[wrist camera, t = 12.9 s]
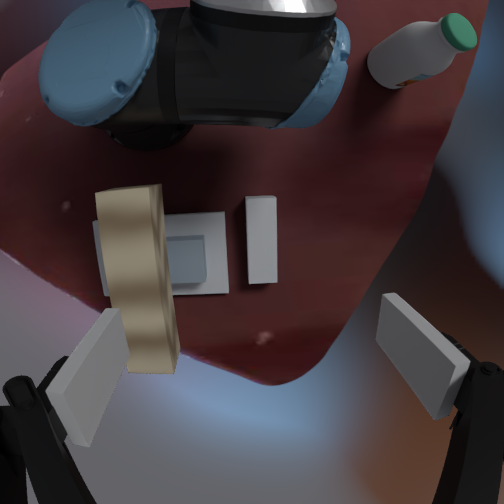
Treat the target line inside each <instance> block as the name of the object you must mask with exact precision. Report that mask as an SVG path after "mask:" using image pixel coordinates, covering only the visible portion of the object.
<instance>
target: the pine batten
mask: <svg viewBox="0 0 504 504" xmlns="http://www.w3.org/2000/svg"><path fill="white" fill-rule="evenodd" d="M95 197H96V208H97V217H98V226H99V234H100V241H101V248H102V255H103V261H104V267H105V273H106V279H107V284H108V290H109V295H110V300H111V305H112V308H120V313H121V318H122V322H123V327H124V331H125V335H126V340H127V344H128V348H129V352H130V357H129V359H128V361H127V363H126V366H127V370H128V373H146V374H148V373H149V374H174V372H175V368H176V363H177V359H178V355H179V351H180V343H179V337H178V331H177V324H176V317H175V310H174V303H173V296H172V288H171V280H170V271H169V263H168V253H167V243H166V233H165V221H164V209H163V195H162V184H150V185H139V186H129V187H120V188H113V189H109V190H105V191H101V192H97V193H95Z"/></svg>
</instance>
